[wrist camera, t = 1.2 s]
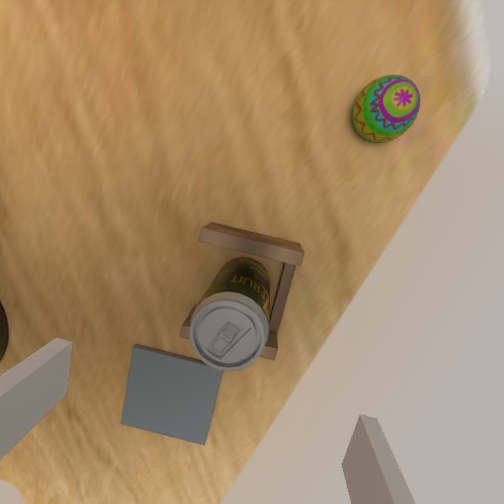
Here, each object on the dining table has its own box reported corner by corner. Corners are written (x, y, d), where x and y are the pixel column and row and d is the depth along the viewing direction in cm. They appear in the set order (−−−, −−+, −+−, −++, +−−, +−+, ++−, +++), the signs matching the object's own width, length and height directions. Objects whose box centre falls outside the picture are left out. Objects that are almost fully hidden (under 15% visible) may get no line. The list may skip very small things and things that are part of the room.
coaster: (123, 419, 36) (120, 423, 35) (135, 344, 34) (133, 347, 33) (205, 441, 36) (204, 445, 35) (223, 366, 33) (222, 369, 33)
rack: (192, 317, 32) (179, 336, 28) (211, 222, 30) (201, 227, 26) (274, 337, 32) (274, 360, 28) (299, 243, 30) (304, 253, 26)
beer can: (250, 315, 32) (238, 388, 20) (208, 287, 32) (170, 344, 20) (280, 275, 31) (285, 328, 19) (236, 245, 31) (214, 280, 19)
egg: (384, 75, 27) (416, 43, 21) (413, 123, 27) (451, 105, 21) (336, 110, 28) (354, 89, 22) (365, 156, 28) (389, 147, 22)
